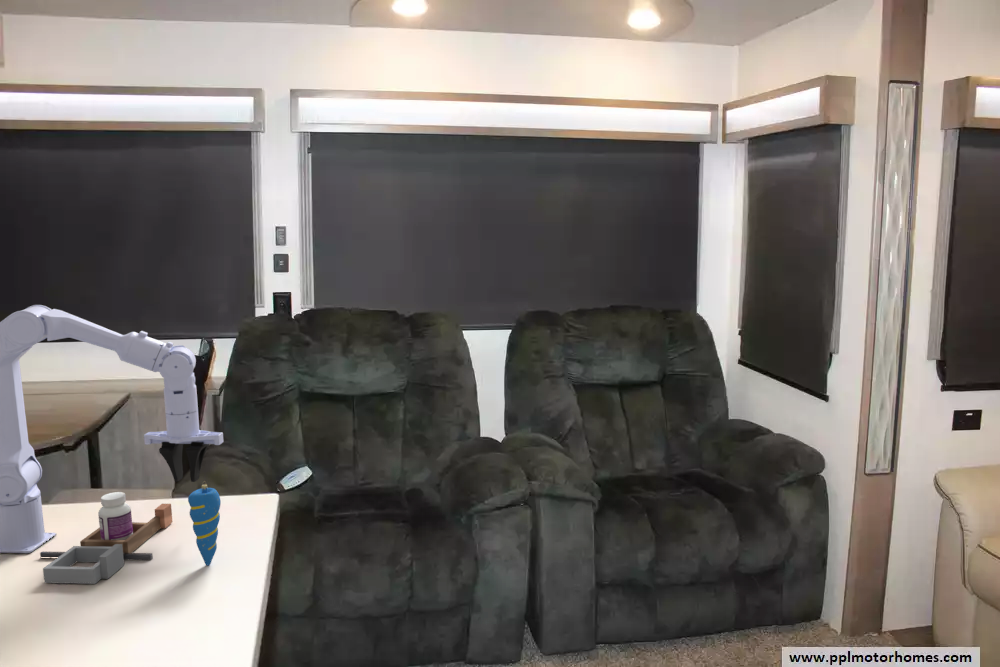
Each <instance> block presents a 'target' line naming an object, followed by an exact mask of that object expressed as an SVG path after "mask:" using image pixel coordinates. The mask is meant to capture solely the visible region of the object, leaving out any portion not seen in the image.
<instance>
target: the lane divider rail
mask: <svg viewBox="0 0 1000 667" xmlns="http://www.w3.org/2000/svg"><path fill="white" fill-rule="evenodd" d="M65 552H66V551H41V552H39V555H40V558H41V557H59V556H61V555H62V554H64V553H65ZM123 558H124V559H129V560H130V561H131V560H132V561H151V560H153V553H152V552H132V553H123Z"/></svg>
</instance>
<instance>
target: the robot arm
mask: <svg viewBox="0 0 1000 667" xmlns="http://www.w3.org/2000/svg"><path fill="white" fill-rule="evenodd" d="M148 334H149V333H148V332H147V331H144V330H141V331H139V333H138V332H136V331H131V332H128V333H126V334H122V333H120V332H117V331H114V330H111V329H108V328H106V327H104V326H102V325H99V324H96V323H94V322H91V321H89V320H87V319H84V318H81V317H80V316H77V315H74V314H71V313H69V312H66V311H64V310H62V309H57V308H53V309H52V308H50V307H48V306H46V305H42V304H33V305H31V306H27V307H26V308H25V309H22V310H17V311H15V312H12V313H11V314H9V315H8V316H6V317H5V318H4V319H2V320H1V321H0V553H3V554H5V553H7V554H11V553H12V554H16V553H17V554H30V553H32V552H34V551H35V550H36V549H38V548H39V547H41V546H42V545H44V544H45V543H47V542H49V541H50V540H51V539H53V538H54V537H56V536H55V535H57V533H56V532H45V531H46V530H45V523H44V512H43V504H42V494H41V490H40V489H39V487H38V485H37V484H38V483H39V481H40V480H41V478H42V476H43V468H42V466H41V463H40V462H39V461H38V460H37V458H36V455H35V454H36V453H35V449H34V448H33V446H32V445H31V444H30V442H29V434H28V425H27V417H26V410H25V409H26V408H25V399H24V389H23V382H22V381H23V380H22V372H21V365H20V359H21V358H22V357H23V356H24V355H25V354H26V353H27V352H29V350H30V349H31V348H33V347H34V346H35V345H37V344H38V343H40V342H42V341H44V340H46V339H47V342H50V341H51V342H52V341H56V340H62V339H68V338H70V339H74V340H77V341H80V342H84V343H87V344H91V345H94V346H97V347H101V348H103V349H106V350H110V351H114V352H115V353H116V354H117V356H118V358H119V360H120V361H121V362H125V363H127V364H130V365H133V366H136V367H139V368H141V369H144V370H147V371H150V372H153V373H157V372H158V373H159V374H160V375H161V377H162V378H163V384H164V385H163V387H164V388H163V398H164V408H165V409H164V410H165V422H166V425H165V426H166V430H161V431H148V432H146V433H144V434H143V440H144V445H149V446H150V445H152V444H156V445H157V444H161V446H160V448H158V453H159V454H160V455H161V456H162V458H163V459H164V460H165V462H166V463H167V465H168V467H169V469H170V471H171V474H172V478H173V480H174V483H175V482H181V480H182V479H183V478H184V467H183V449H184V445H189V446H187V447H185V453H186V455H187V459H188V460H187V461H188V464H189V477H190V482H191V483H195V482H197V481H198V480H200V474H201V469H202V465H203V460H204V459H205V458H204V457H205V456H206V453H207V450H208V448H209V446H210V445H214V446H220V445H222V444H223V443H224V433H223V432H219V431H209V430H200V420H199V417H200V416H199V407H198V405H199V404H198V394H197V391H198V390H197V385H196V376H195V372H194V369H195V368H196V364H197V363H196V362H197V359H196V355H195V353H194V352H193V351H192V350H191V349H190V348H188V347H186V346H185V345H183V344H180V345H179V344H177V345H174V342H171V341H167V343H166V342H165V341H161V340H159V339H156V338H152V337H150V336H148ZM53 536H54V537H53ZM52 537H53V538H52ZM50 538H51V539H50ZM49 539H50V540H49ZM46 541H47V542H46ZM43 543H44V544H43Z"/></svg>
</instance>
